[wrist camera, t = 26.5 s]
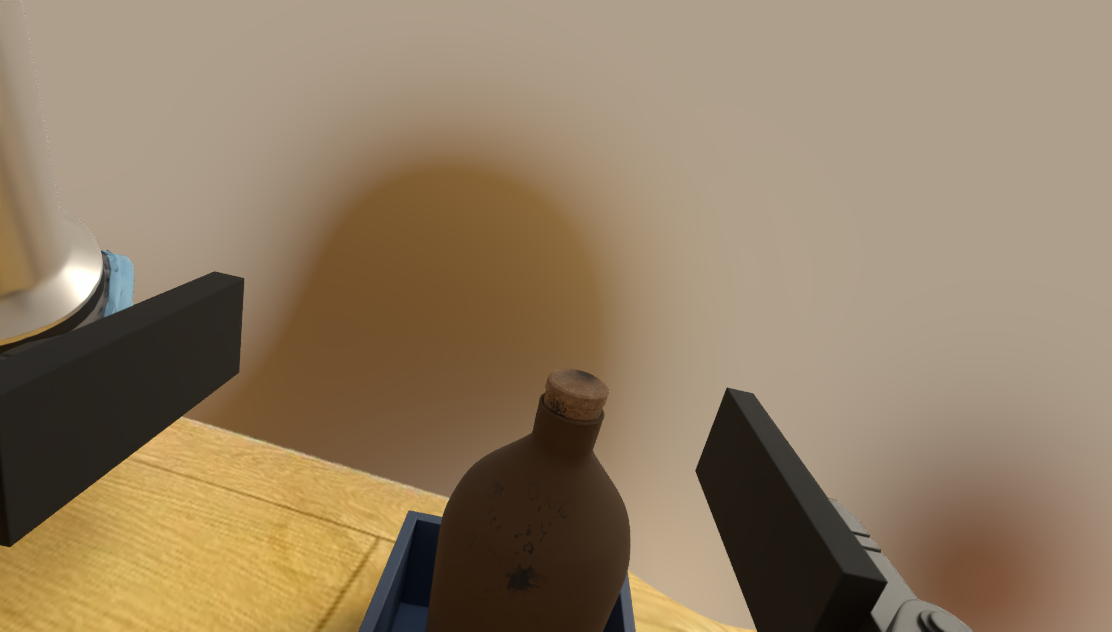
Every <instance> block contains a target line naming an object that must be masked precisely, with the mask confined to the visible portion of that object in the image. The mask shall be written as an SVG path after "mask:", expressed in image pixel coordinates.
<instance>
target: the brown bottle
mask: <svg viewBox="0 0 1112 632" xmlns="http://www.w3.org/2000/svg"><path fill="white" fill-rule="evenodd" d="M608 391H609V390H608V387H607V386H606V385H605V383H603V382H602V381H601V380H600V379H598V378H597V377H595V376H593V375H591V374H588V373H586V372H583V371H579V370H574V369H558V370H554V371H552V372H551V373H550V374H549V375H548V379H547V383H546V392H545V393H544V394H542V395H541V397H540V400H539V405H538V409H537V413H536V418H535V423H534V428H533V431H532V433H531V434H529V435H527V436H525V437H523V438H522V439H519V440H517V441H515V442H513V443H510V444H508V445H506V446H504V447H502V448H500V449H497V450H495V451H494V452H492V453H490V454H488V455H486V456H485V457H483V458H482V459H481V460H479V461H478V462H476V463H475V464H474V465H473V466H472V467H471V468H470V469H469V470H468V471H467V473H466V474H465V475H464V476H463V478H462V479H461V481H460V482H459V484H458V485H457V487H456V488H455V490H454V492H453V493H452V495H451V497H450V499H449V501H448V503H447V505H446V508H445V510H444V514H443V517H442V521H441V525H440V531H439V538H438V545H437V552H436V560H435V567H434V574H433V582H432V589H431V596H430V603H429V609H428V616H427V623H426V629H425V632H603V630H604V628H605V625H606V623H607V621H608V618H609V616H610V614H611V612H612V609H613V607H614V605H615V602H616V600H617V598H618V596H619V593H620V591H621V589H622V586H623V584H624V581H625V578H626V574H627V571H628V566H629V560H630V525H629V519H628V515H627V511H626V507H625V505H624V502H623V500H622V498H621V496H620V494H619V492H618V490H617V489H616V487H615V485H614V484H613V482H612V481H611V479H610V478H609V476H608V475H607V473H606V472H605V470H604V468H603V467H602V465H601V464H600V462H599V461H598V459H597V458H596V456H595V454H594V452H593V448H594V444H595V442H596V439H597V436H598V433H599V430H600V427H601V424H602V421H603V419H604V411H603V409H602V408H603V406H604V405H605V403H606V400H607V396H608V393H609V392H608Z"/></svg>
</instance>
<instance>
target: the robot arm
mask: <svg viewBox="0 0 1112 632" xmlns="http://www.w3.org/2000/svg"><path fill="white" fill-rule="evenodd" d="M133 293H134V266H133V263H132V261H131V260H130V259H128V258H127V257H126V256H123V255H119V254H113V253H112V252H110V251H108V250H107V251H104V250H100V248H99V245H98V242H97V240H96V238H95V237H94V235H93V234H92V232H91V231H90V230H89V229H88V228H87V227H86V226H85V225H84V224H83V223H82V222H81V221H80V220H79V219H77V218H76V217H75V216H74V215H72V214H71V213H69V212H68V211H66V210H64V209H63V208H61V207H60V203H59V198H58V193H57V187H56V182H55V176H54V171H53V165H52V160H51V154H50V149H49V144H48V138H47V132H46V127H45V122H44V117H43V111H42V105H41V100H40V95H39V90H38V83H37V78H36V72H35V67H34V62H33V57H32V51H31V45H30V40H29V34H28V29H27V24H26V18H25V13H24V7H23V2H22V0H0V545H2V546H7V547H11V546H12V545H13V544H15V543H16V542H17V541H19V540H20V539H21V538H23V537H24V536H25V535H26V534H28V533H29V532H30V531H32V530H33V529H34V528H36V527H37V526H38V525H40V524H41V523H42V522H44V521H45V520H46V519H47V518H49V517H50V516H51V515H53V514H54V513H55V512H57V511H58V510H59V509H61V508H62V507H63V506H65V505H66V504H67V503H68V502H70V501H71V500H72V499H74V498H75V497H76V496H78V495H79V494H80V493H82V492H83V491H84V490H86V489H87V488H88V487H89V486H91V485H92V484H93V483H95V482H96V481H97V480H99V479H100V478H101V477H103V476H104V475H105V474H107V473H108V472H109V471H110V470H112V469H113V468H114V467H116V466H117V465H118V464H120V463H121V462H122V461H124V460H125V459H126V458H128V457H129V456H130V455H132V454H133V453H134V452H135V451H137V450H138V449H139V448H141V447H142V446H143V445H145V444H146V443H147V442H149V441H150V440H151V439H153V438H154V437H155V436H156V435H158V434H159V433H160V432H162V431H163V430H164V429H166V428H167V427H168V426H170V425H171V424H172V423H174V422H175V421H176V420H177V419H179V418H180V417H181V416H183V415H184V414H185V413H186V412H188V411H189V410H190V409H192V408H193V407H195V406H196V405H197V404H198V403H200V402H201V401H202V400H204V399H205V398H206V397H208V396H209V395H210V394H212V393H213V392H214V391H215V390H217V389H218V388H219V387H221V386H222V385H223V384H225V383H226V382H227V381H229V380H230V379H231V378H232V377H234V376H235V375H236V374H238V373H239V364H240V347H241V329H242V310H243V293H244V278H241V277H236V276H232V275H228V274H223V273H219V272H212V273H210V274H207V275H205V276H202V277H200V278H198V279H195V280H193V281H191V282H188V283H186V284H183V285H181V286H178V287H176V288H174V289H171V290H169V291H166V292H164V293H162V294H159V295H157V296H155V297H152V298H150V299H147V300H145V301H142V302H140V303H138V304H135V305H133ZM696 474H697V476H698V479H699V481H700V484H701V487H702V489H703V492H704V494H705V497H706V500H707V502H708V505H709V507H710V510H711V512H712V515H713V518H714V520H715V523H716V526H717V528H718V531H719V533H720V536H721V539H722V541H723V544H724V546H725V549H726V552H727V554H728V557H729V559H730V562H731V565H732V567H733V570H734V572H735V574H736V577H737V580H738V582H739V585H740V588H741V590H742V593H743V596H744V598H745V601H746V603H747V606H748V608H749V611H750V613H751V616H752V619H753V621H754V624H755V627H756V629H757V632H973V631H972V630H971V629H970V628H969V627H968V626H967V625H966V624H965V623H963V622H962V621H961V620H959V619H958V618H956V617H955V616H954V615H952V614H951V613H949V612H948V611H946V610H944V609H942V608H940V607H938V606H936V605H934V604H932V603H929V602H925V601H922V600H918V598H917V597H916V596H915V595H914V593H913V592H912V590H911V589H910V588H909V586H908V585H907V584H906V582H905V581H904V580H903V578H902V577H901V576H900V575H899V573H898V572H897V570H896V569H895V568H894V566H893V565H892V564H891V563H890V561H889V560H888V559H887V557H886V556H885V555H884V554H882V553H881V549H880V548H879V547H878V545H877V544H876V543H875V541H874V540H873V539H872V538H870V535H869V533H868V532H867V531H866V529H865V528H864V527H863V526H862V524H861V523H860V522H859V520H858V519H857V518H856V517H855V516H854V515H853V514H852V513H851V512H850V511H848V510H847V509H846V508H845V507H844V506H843V505H841V504H840V503H839V502H838V501H837V500H834V499H829V498H828V497H827V496H826V495H825V493H824V492H823V490H822V489H821V488H820V486H819V485H818V484H817V482H816V481H815V479H814V478H813V476H812V475H811V474H810V472H809V471H808V469H807V468H806V467H805V465H804V464H803V463H802V461H801V460H800V458H799V457H798V455H797V454H796V453H795V451H794V450H793V448H792V447H791V446H790V444H789V443H788V441H787V440H786V439H785V437H784V436H783V434H782V433H781V432H780V430H779V429H778V427H777V426H776V425H775V423H774V422H773V420H772V419H771V418H770V416H769V415H768V413H767V412H766V411H765V410H764V408H763V406H762V405H761V404H760V402H759V401H758V399H757V398H756V397H755V395H754V394H753V393H749V392H744V391H740V390H735V389H731V388H727V389H726V391H725V394H724V396H723V399H722V402H721V404H720V407H719V410H718V412H717V415H716V418H715V420H714V423H713V425H712V428H711V431H710V434H709V436H708V439H707V441H706V444H705V447H704V449H703V452H702V455H701V457H700V460H699V462H698V465H697V468H696Z"/></svg>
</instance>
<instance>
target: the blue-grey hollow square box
mask: <svg viewBox="0 0 1112 632" xmlns="http://www.w3.org/2000/svg"><path fill="white" fill-rule="evenodd" d="M441 521H442V517H439V516H435V515H430V514H425V513H419V512H415V511H410V510H409V511H408V513H407V516H406V518H405V521H404V523H403V526H402V528H401V530H400V533H399V535H398V538H397V540H396V542H395V545H394V547H393V550H392V552H391V554H390V557H389V559H388V562H387V564H386V567H385V569H384V571H383V574H382V576H381V579H380V581H379V583H378V586H377V588H376V591H375V593H374V595H373V598H372V600H371V603H370V605H369V607H368V610H367V612H366V615H365V617H364V620H363V622H362V624H361V627H360V629H359V632H425V629H426V623H427V616H428V609H429V603H430V596H431V589H432V582H433V574H434V567H435V560H436V552H437V545H438V538H439V531H440V525H441ZM603 632H636V630H635V622H634V615H633V608H632V600H631V593H630V586H629V578H628V571H627V574H626V578H625V581H624V584H623V586H622V589H621V591H620V593H619V596H618V598H617V600H616V602H615V605H614V607H613V609H612V612H611V614H610V616H609V618H608V621H607V623H606V625H605V628H604V630H603Z"/></svg>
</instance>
